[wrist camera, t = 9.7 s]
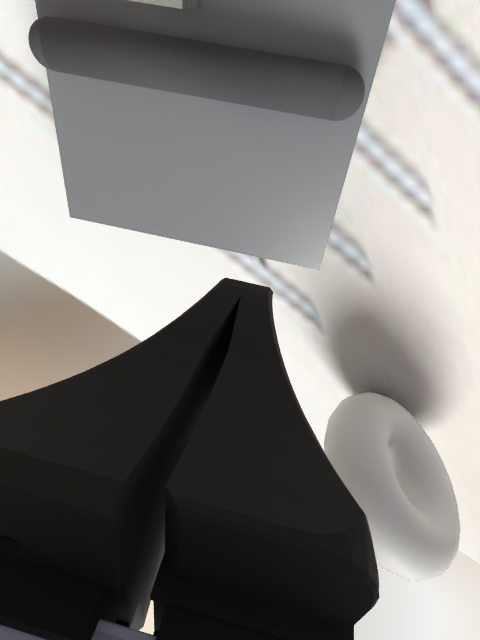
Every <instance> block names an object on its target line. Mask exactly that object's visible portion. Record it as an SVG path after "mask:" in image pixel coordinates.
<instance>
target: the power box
mask: <svg viewBox="0 0 480 640" xmlns="http://www.w3.org/2000/svg"><path fill="white" fill-rule="evenodd" d="M35 2H36V8H37V15H38V19H37V20H36V21H35V22H34V23H33V24H32V26H31V28H30V31H29V45H30V48H31V51H32V53H33V55H34V56H35V58H36V59H37V60H38V61H39V63H41V64H42V65H43V66H44V67H46V70H47V77H48V83H49V89H50V95H51V101H52V108H53V114H54V120H55V126H56V132H57V139H58V145H59V151H60V157H61V163H62V170H63V176H64V182H65V188H66V195H67V201H68V207H69V213H70V217H72V218H77V219H82V220H86V221H91V222H96V223H100V224H105V225H110V226H115V227H119V228H124V229H129V230H134V231H138V232H143V233H148V234H152V235H157V236H162V237H167V238H171V239H176V240H181V241H185V242H190V243H195V244H200V245H204V246H209V247H214V248H218V249H223V250H228V251H233V252H237V253H242V254H247V255H252V256H256V257H261V258H266V259H270V260H275V261H280V262H285V263H289V264H294V265H299V266H303V267H308V268H313V269H318V270H319V269H320V265H321V262H322V258H323V255H324V251H325V248H326V244H327V241H328V237H329V234H330V230H331V227H332V223H333V220H334V216H335V213H336V209H337V206H338V202H339V199H340V195H341V192H342V188H343V185H344V181H345V177H346V174H347V170H348V167H349V163H350V160H351V156H352V153H353V149H354V146H355V142H356V139H357V135H358V132H359V128H360V125H361V121H362V118H363V114H364V111H365V107H366V104H367V100H368V97H369V93H370V90H371V86H372V83H373V79H374V76H375V72H376V69H377V65H378V62H379V58H380V55H381V51H382V48H383V44H384V41H385V37H386V34H387V30H388V27H389V23H390V20H391V16H392V13H393V9H394V6H395V2H396V0H35Z"/></svg>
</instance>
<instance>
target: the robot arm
mask: <svg viewBox="0 0 480 640" xmlns="http://www.w3.org/2000/svg"><path fill="white" fill-rule="evenodd" d="M272 295H273V291H272V290H271V288H269V287H265V286H260V285H256V284H251V283H247V282H243V281H238V280H234V279H229V278H224V279H222V280H221V281H220V282H219V283H218V284H217V285H216V286H215V287H213V288H212V289H211V290H210V291H209V292H208V293H207V294H206V295H205V296H204V297H202V298H201V299H200V300H199V301H198V302H197V303H195V304H194V305H193V306H192V307H190V308H189V309H188V310H187V311H186V312H184V313H183V314H182V315H181V316H179V317H178V318H177V319H175V320H174V321H172V322H171V323H170V324H168V325H167V326H165V327H164V328H162V329H161V330H160V331H158V332H157V333H155V334H154V335H152V336H151V337H149V338H148V339H146V340H144V341H143V342H141V343H139V344H138V345H136V346H134V347H133V348H131V349H129V350H127V351H126V352H124V353H122V354H120V355H118V356H116V357H114V358H112V359H110V360H108V361H106V362H104V363H102V364H100V365H97V366H96V367H93V368H91V369H89V370H87V371H85V372H82V373H80V374H77V375H75V376H72V377H70V378H68V379H65V380H62V381H60V382H57V383H55V384H52V385H49V386H46V387H44V388H41V389H38V390H35V391H32V392H29V393H26V394H22V395H19V396H16V397H13V398H9V399H6V400H3V401H0V640H354V625H355V624H356V623H357V622H358V621H359V620H360V619H361V618H362V617H363V616H364V615H365V614H366V613H367V612H368V611H369V610H370V609H372V607H374V605H375V604H376V602H377V600H378V599H379V579H378V569H377V563H376V557H375V551H374V546H373V541H372V537H371V532H370V528H369V524H368V520H367V517H366V514H365V513H364V511H363V510H362V509H361V507H360V506H359V504H358V503H357V502H356V500H355V499H354V497H353V496H352V494H351V493H350V492H349V490H348V489H347V487H346V486H345V484H344V483H343V481H342V480H341V478H340V477H339V475H338V474H337V472H336V470H335V469H334V467H333V465H332V464H331V462H330V461H329V459H328V457H327V456H326V454H325V452H324V451H323V449H322V447H321V445H320V444H319V442H318V440H317V438H316V436H315V434H314V432H313V430H312V429H311V427H310V425H309V423H308V421H307V419H306V417H305V415H304V413H303V411H302V409H301V407H300V404H299V402H298V400H297V398H296V395H295V393H294V390H293V388H292V385H291V383H290V380H289V377H288V375H287V372H286V369H285V366H284V362H283V359H282V356H281V352H280V348H279V344H278V340H277V335H276V330H275V325H274V319H273V310H272ZM151 600H153V601H154V628H155V631H154V634H153V635H151V634H147V633H144V632H141V631H139V630H140V629H141V628H142V627H143V626H144V622H145V619H146V615H147V612H148V608H149V605H150V601H151Z"/></svg>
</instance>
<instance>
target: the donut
mask: <svg viewBox="0 0 480 640" xmlns="http://www.w3.org/2000/svg"><path fill="white" fill-rule="evenodd" d="M324 452H325V454H326V456H327V457H328V459H329V461H330V462H331V464H332V465H333V467H334V469H335V470H336V472H337V474H338V475H339V477H340V478H341V480H342V481H343V483H344V484H345V486H346V487H347V489H348V490H349V492H350V493H351V494H352V496H353V497H354V499H355V500H356V502H357V503H358V504H359V506H360V507H361V509H362V510H363V511H364V513H365V514H366V517H367V520H368V524H369V528H370V532H371V537H372V541H373V546H374V551H375V557H376V563H377V564H378V565H379V566H380V567H381V568H383V569H385V570H387V571H389V572H391V573H393V574H396V575H397V576H400V577H402V578H404V579H406V580H409V581H421V580H426V579H430V578H433V577H436V576H439V575H442V574H443V573H444V572H445V571H446V570H447V569H448V568H449V566H450V564H451V563H452V561H453V559H454V557H455V556H456V553H457V551H458V547H459V538H460V523H459V515H458V507H457V502H456V498H455V494H454V491H453V487H452V483H451V481H450V478H449V476H448V473H447V471H446V468H445V466H444V463H443V461H442V459H441V457H440V456H439V454H438V452H437V450H436V448H435V446H434V444H433V443H432V441H431V440H430V438H429V437H428V435H427V434H426V432H425V431H424V429H423V428H422V426H421V425H420V424H419V423H418V422H417V421H416V420H415V419H414V417H413V416H412V415H411V414H410V413H409V412H408V411H407V410H406V409H405V408H404V407H402V406H401V405H400V404H398V403H397V402H396V401H394V400H393V399H391V398H388V397H386V396H383V395H380V394H377V393H371V392H365V393H361V394H357V395H354V396H350V397H347V398H346V399H344V400H343V401H341V403H340V404H339V405H338V407H337V408H336V409H335V411H334V412H333V413H332V415H331V416H330V418H329V421H328V425H327V430H326V434H325V440H324Z"/></svg>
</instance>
